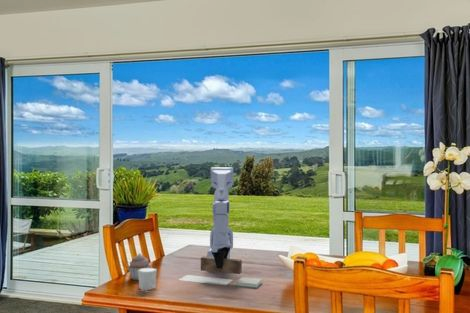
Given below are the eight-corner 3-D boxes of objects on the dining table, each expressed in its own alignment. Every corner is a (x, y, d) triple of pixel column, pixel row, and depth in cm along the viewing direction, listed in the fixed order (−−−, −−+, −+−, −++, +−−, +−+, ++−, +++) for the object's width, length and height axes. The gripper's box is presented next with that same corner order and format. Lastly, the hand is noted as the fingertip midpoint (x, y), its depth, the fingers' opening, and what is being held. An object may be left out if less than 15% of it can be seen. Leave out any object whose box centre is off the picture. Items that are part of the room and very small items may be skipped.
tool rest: (177, 280, 183) (177, 279, 183) (186, 275, 191) (186, 274, 191) (225, 286, 177) (225, 285, 177) (233, 280, 184) (233, 279, 184)
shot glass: (160, 286, 175) (160, 268, 175) (150, 292, 169) (151, 272, 169) (143, 285, 178) (143, 266, 178) (134, 290, 171) (134, 271, 171)
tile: (236, 281, 176) (256, 284, 173) (242, 277, 182) (262, 279, 180) (236, 286, 176) (256, 288, 173) (242, 281, 182) (261, 283, 180)
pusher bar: (200, 270, 183) (200, 257, 183) (203, 269, 185) (203, 256, 185) (239, 274, 178) (239, 260, 178) (241, 272, 180) (241, 259, 180)
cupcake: (139, 274, 194) (140, 249, 193) (156, 277, 188) (156, 252, 188) (122, 279, 186) (122, 253, 186) (138, 283, 180) (138, 257, 180)
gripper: (224, 236, 173) (223, 272, 173) (236, 229, 187) (236, 263, 187) (206, 234, 176) (206, 271, 176) (220, 228, 189) (220, 262, 190)
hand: (220, 267), depth 182 cm, fingers closed on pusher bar, 2 cm apart
